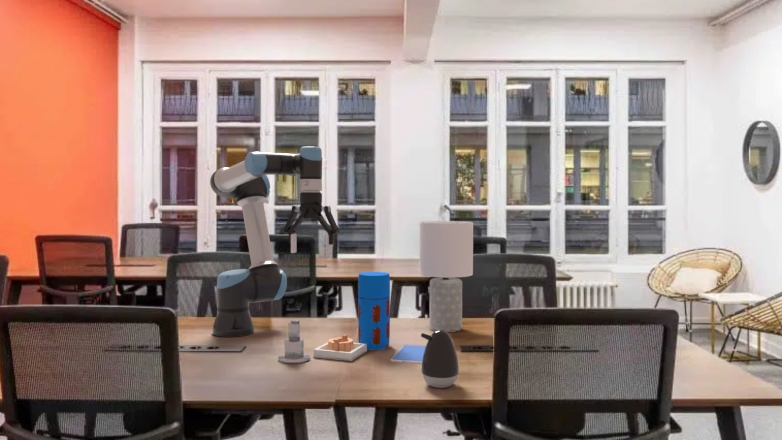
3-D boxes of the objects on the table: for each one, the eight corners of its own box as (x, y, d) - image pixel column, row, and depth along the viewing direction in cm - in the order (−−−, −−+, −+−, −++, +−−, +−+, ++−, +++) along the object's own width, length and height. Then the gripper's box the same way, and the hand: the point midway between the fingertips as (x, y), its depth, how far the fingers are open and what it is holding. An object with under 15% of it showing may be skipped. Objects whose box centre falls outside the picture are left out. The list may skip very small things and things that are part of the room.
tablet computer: (428, 366, 187) (428, 361, 187) (389, 363, 190) (389, 359, 190) (439, 350, 206) (439, 346, 206) (403, 348, 209) (403, 344, 209)
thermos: (394, 344, 212) (395, 272, 211) (381, 351, 202) (381, 276, 201) (366, 341, 217) (367, 271, 216) (352, 347, 207) (352, 274, 206)
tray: (313, 357, 195) (313, 349, 195) (331, 347, 207) (331, 340, 207) (350, 361, 190) (350, 353, 190) (366, 351, 202) (366, 343, 202)
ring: (334, 348, 204) (334, 333, 203) (356, 350, 201) (356, 335, 201) (324, 354, 196) (324, 338, 196) (346, 356, 193) (346, 340, 193)
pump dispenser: (418, 380, 171) (418, 326, 170) (454, 379, 172) (455, 325, 171) (423, 391, 161) (423, 334, 160) (462, 390, 162) (462, 333, 161)
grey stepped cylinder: (272, 361, 189) (271, 322, 189) (288, 354, 198) (288, 316, 198) (300, 365, 186) (300, 325, 185) (315, 357, 195) (315, 318, 194)
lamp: (481, 327, 240) (481, 222, 238) (457, 337, 223) (458, 223, 221) (434, 321, 251) (435, 220, 249) (409, 330, 234) (409, 222, 232)
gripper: (273, 191, 210) (273, 253, 211) (339, 191, 201) (339, 255, 202) (284, 191, 217) (284, 251, 218) (348, 191, 208) (348, 253, 209)
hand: (311, 253), depth 210 cm, fingers open, 13 cm apart
